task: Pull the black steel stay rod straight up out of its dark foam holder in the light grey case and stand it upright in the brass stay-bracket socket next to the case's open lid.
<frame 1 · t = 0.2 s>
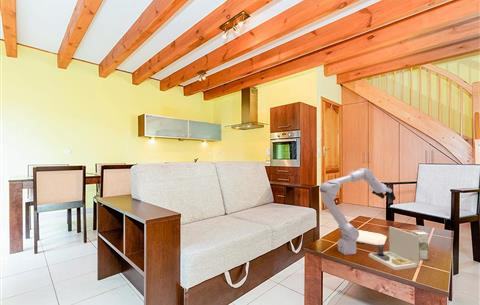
hand: (388, 198, 139), 31 cm above the table, tool tilted 45°, fingers open, 7 cm apart
syrup box: (419, 258, 127), on the table
equipment case: (391, 263, 120), on the table
stay rod: (380, 258, 123), point 1 cm above the table, touching equipment case
plate: (364, 239, 157), on the table
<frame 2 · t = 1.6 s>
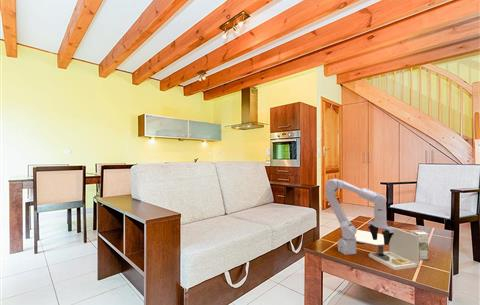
hand: (380, 242, 123), 10 cm above the table, tool pointing down, fingers open, 7 cm apart
nothing on the table moved.
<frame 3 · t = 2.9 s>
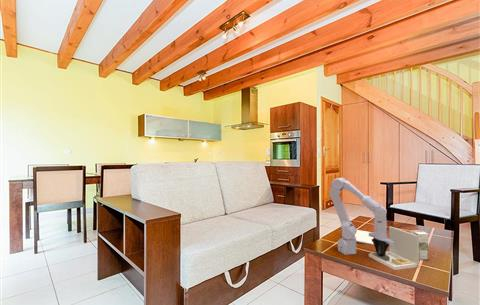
hand: (380, 253, 123), 4 cm above the table, tool pointing down, fingers closed on stay rod, 2 cm apart
stay rod: (380, 258, 123), point 1 cm above the table, touching equipment case, gripper
everything else where it was.
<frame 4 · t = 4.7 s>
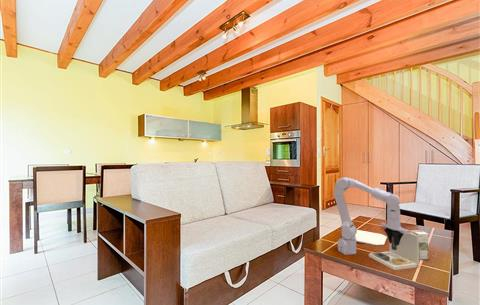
hand: (394, 244, 119), 11 cm above the table, tool pointing down, fingers closed on stay rod, 2 cm apart
stay rod: (394, 249, 119), point 8 cm above the table, touching gripper
everything else where it was.
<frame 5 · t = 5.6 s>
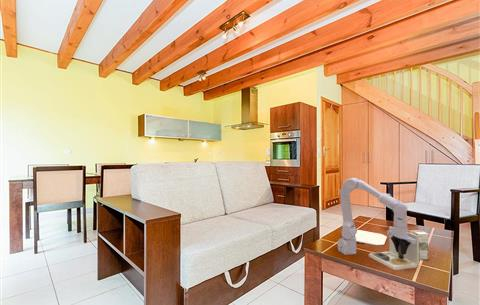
hand: (400, 252, 117), 7 cm above the table, tool pointing down, fingers closed on stay rod, 2 cm apart
stay rod: (401, 258, 117), point 4 cm above the table, touching gripper
everything else where it was.
when the fingers open (4 cm above the table, at t = 6.3 s): stay rod stays where it is, resting on equipment case.
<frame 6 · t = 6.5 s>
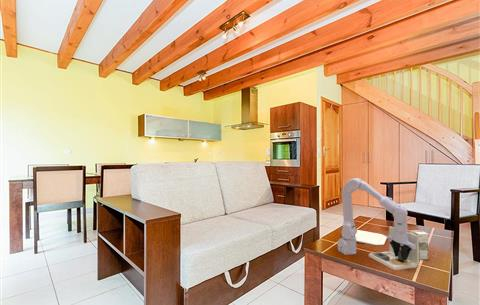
hand: (400, 257, 117), 4 cm above the table, tool pointing down, fingers open, 4 cm apart
stay rod: (401, 264, 116), point 1 cm above the table, touching equipment case
everything else where it was.
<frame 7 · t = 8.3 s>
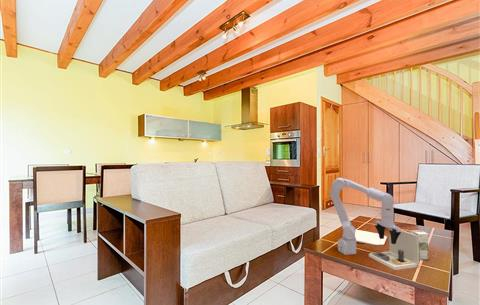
hand: (387, 241, 124), 10 cm above the table, tool pointing down, fingers open, 7 cm apart
nothing on the table moved.
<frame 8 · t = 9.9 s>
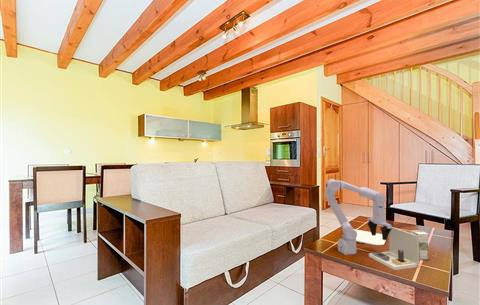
hand: (379, 237, 129), 10 cm above the table, tool pointing down, fingers open, 7 cm apart
nothing on the table moved.
at the end: stay rod 0.0 cm from the target spot on the equipment case, point 1.0 cm above the equipment case's base; stay rod tilted 1°; the gripper is holding nothing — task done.
